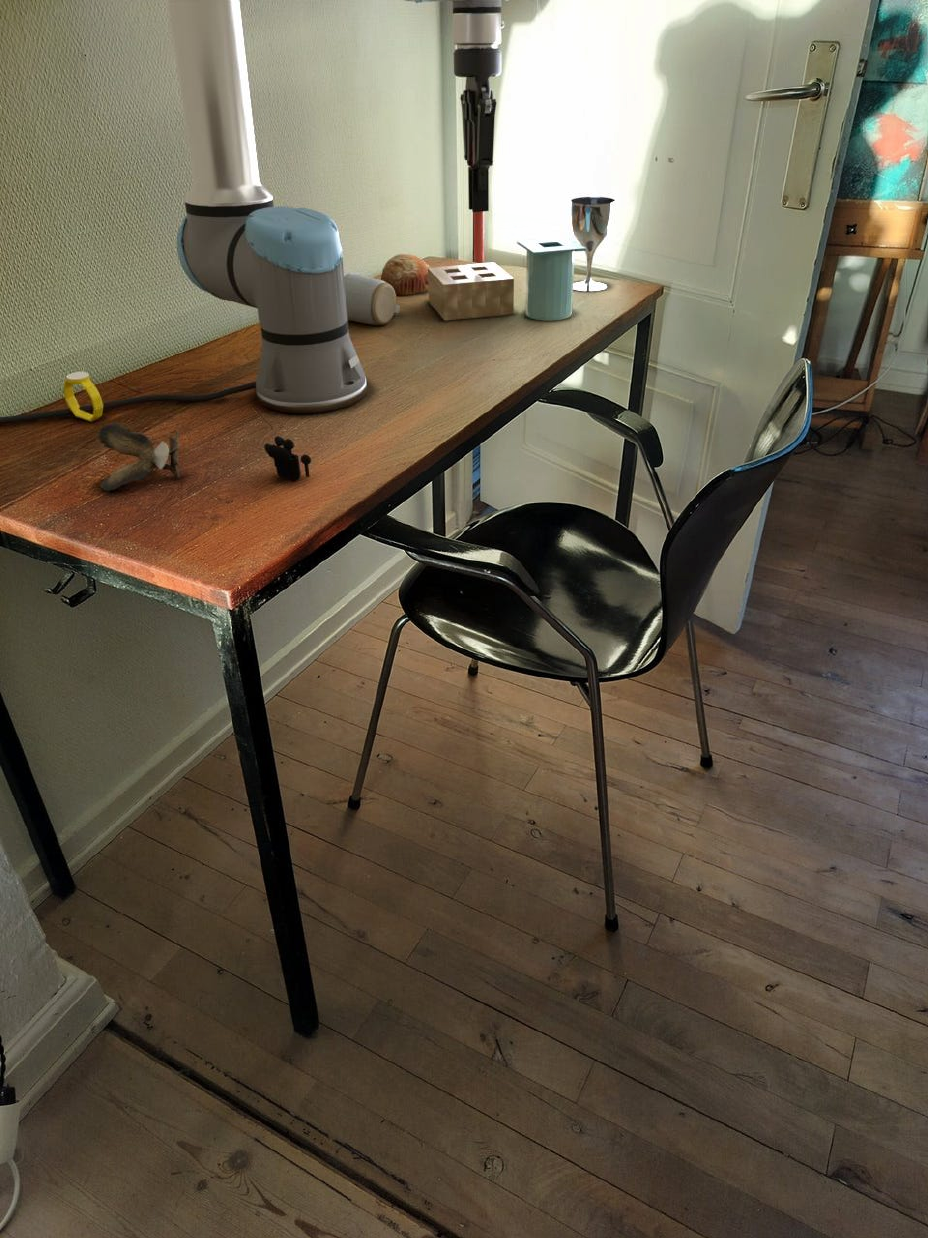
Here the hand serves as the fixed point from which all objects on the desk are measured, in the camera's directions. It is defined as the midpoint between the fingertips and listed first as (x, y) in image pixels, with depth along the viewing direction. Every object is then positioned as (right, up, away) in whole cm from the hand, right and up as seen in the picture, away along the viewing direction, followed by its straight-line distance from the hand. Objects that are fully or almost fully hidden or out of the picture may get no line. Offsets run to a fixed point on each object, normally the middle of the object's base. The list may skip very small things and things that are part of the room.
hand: (478, 209), depth 154 cm
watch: (-53, -43, -34) cm, 76 cm away
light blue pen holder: (+12, -17, +2) cm, 21 cm away
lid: (+12, -8, -4) cm, 15 cm away
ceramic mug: (-18, -19, +1) cm, 26 cm away
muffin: (-13, -7, +19) cm, 24 cm away
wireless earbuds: (-23, -54, -51) cm, 78 cm away
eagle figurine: (-40, -54, -50) cm, 83 cm away
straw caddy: (-1, -15, +6) cm, 16 cm away
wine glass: (+21, -7, +17) cm, 28 cm away
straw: (0, -7, +5) cm, 8 cm away
